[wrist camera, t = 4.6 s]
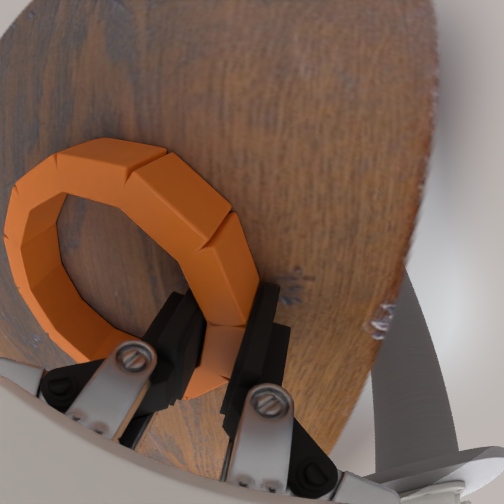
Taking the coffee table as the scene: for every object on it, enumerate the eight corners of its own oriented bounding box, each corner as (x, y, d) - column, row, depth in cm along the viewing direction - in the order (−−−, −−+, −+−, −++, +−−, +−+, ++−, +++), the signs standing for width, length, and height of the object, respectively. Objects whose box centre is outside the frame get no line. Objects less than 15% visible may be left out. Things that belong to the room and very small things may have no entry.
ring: (291, 178, 9) (283, 206, 7) (230, 384, 14) (217, 424, 12) (35, 128, 9) (-9, 142, 7) (58, 314, 15) (35, 341, 13)
